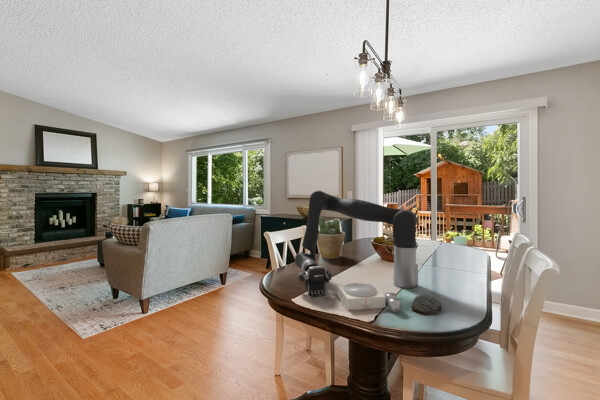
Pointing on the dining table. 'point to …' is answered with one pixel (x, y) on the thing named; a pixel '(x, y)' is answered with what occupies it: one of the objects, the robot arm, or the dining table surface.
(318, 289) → the battery
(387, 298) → the spacer
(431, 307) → the fossil
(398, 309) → the spacer
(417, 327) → the dining table surface
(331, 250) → the potted plant
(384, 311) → the dining table surface
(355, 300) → the scale
